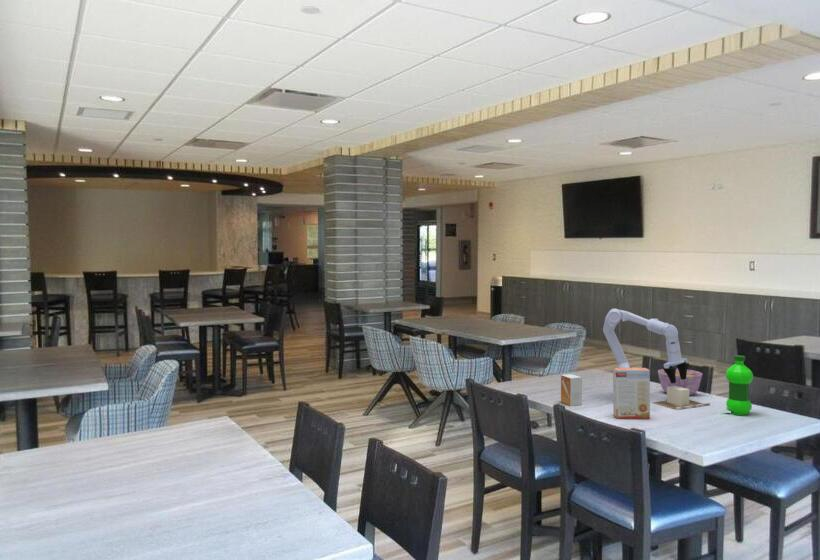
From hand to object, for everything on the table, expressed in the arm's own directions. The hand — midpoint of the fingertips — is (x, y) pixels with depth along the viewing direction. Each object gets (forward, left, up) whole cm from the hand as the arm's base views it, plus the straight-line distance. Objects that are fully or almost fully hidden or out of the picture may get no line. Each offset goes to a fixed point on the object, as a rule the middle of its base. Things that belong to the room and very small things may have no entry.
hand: (678, 381), depth 282 cm
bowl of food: (+16, +14, -12) cm, 24 cm away
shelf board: (-1, -2, -11) cm, 12 cm away
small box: (-41, +24, -12) cm, 49 cm away
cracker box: (-33, -6, -12) cm, 36 cm away
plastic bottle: (+13, -21, -12) cm, 27 cm away
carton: (-1, -1, -10) cm, 10 cm away
